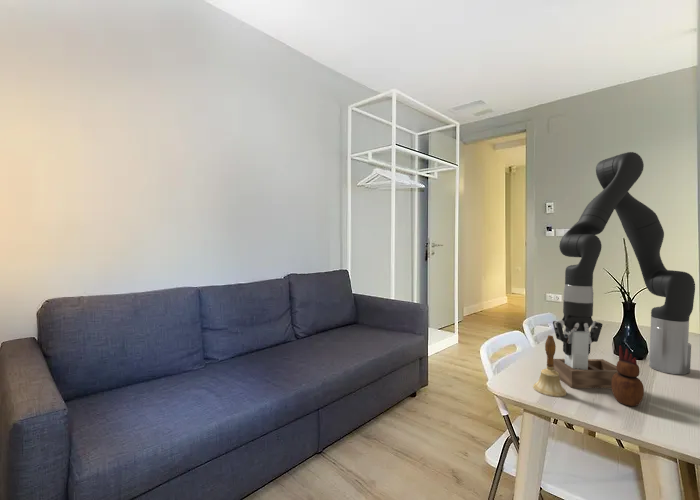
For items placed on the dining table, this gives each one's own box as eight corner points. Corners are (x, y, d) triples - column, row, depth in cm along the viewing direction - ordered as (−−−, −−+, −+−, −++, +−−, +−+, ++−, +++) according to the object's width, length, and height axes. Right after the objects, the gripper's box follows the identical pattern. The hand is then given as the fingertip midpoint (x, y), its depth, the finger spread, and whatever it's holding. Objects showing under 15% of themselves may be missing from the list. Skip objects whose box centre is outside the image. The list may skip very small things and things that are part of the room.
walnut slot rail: (602, 374, 108) (602, 359, 108) (627, 388, 99) (627, 371, 98) (552, 374, 109) (552, 358, 109) (571, 387, 99) (572, 371, 99)
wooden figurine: (605, 397, 93) (607, 343, 93) (625, 396, 94) (627, 343, 93) (627, 409, 86) (630, 352, 86) (648, 408, 87) (650, 351, 86)
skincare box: (588, 372, 100) (589, 333, 100) (572, 371, 101) (573, 332, 101) (579, 365, 106) (580, 327, 106) (564, 364, 107) (565, 326, 107)
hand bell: (566, 399, 92) (568, 341, 91) (532, 392, 96) (533, 337, 96) (566, 388, 99) (567, 334, 98) (534, 381, 103) (535, 330, 103)
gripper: (593, 297, 106) (591, 351, 107) (547, 297, 107) (545, 350, 108) (611, 302, 99) (609, 359, 100) (561, 301, 99) (559, 358, 100)
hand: (576, 354), depth 104 cm, fingers closed on skincare box, 4 cm apart
